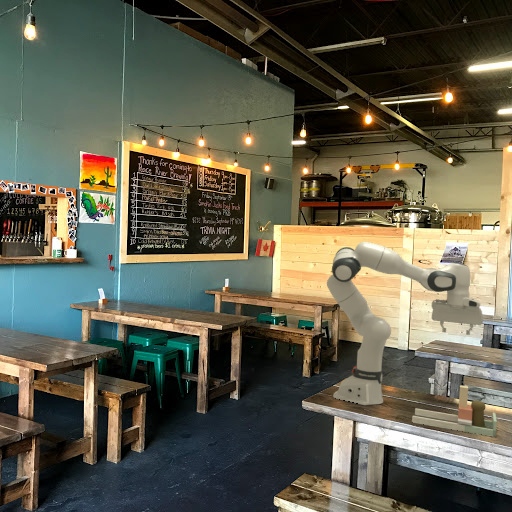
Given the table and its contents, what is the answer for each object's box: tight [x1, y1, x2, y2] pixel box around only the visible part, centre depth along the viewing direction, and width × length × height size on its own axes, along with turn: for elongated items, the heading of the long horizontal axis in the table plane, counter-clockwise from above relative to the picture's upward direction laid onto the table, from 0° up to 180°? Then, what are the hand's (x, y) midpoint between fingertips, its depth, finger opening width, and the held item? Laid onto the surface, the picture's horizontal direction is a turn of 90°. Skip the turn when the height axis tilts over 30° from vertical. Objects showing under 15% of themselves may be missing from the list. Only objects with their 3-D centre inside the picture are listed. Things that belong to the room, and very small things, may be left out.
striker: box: [457, 385, 472, 426], centre depth 199 cm, size 5×13×16 cm, turn 157°
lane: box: [411, 407, 498, 438], centre depth 201 cm, size 30×12×6 cm, turn 67°
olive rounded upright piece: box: [470, 400, 486, 428], centre depth 197 cm, size 6×6×11 cm
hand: (455, 333), depth 213 cm, fingers open, 8 cm apart
